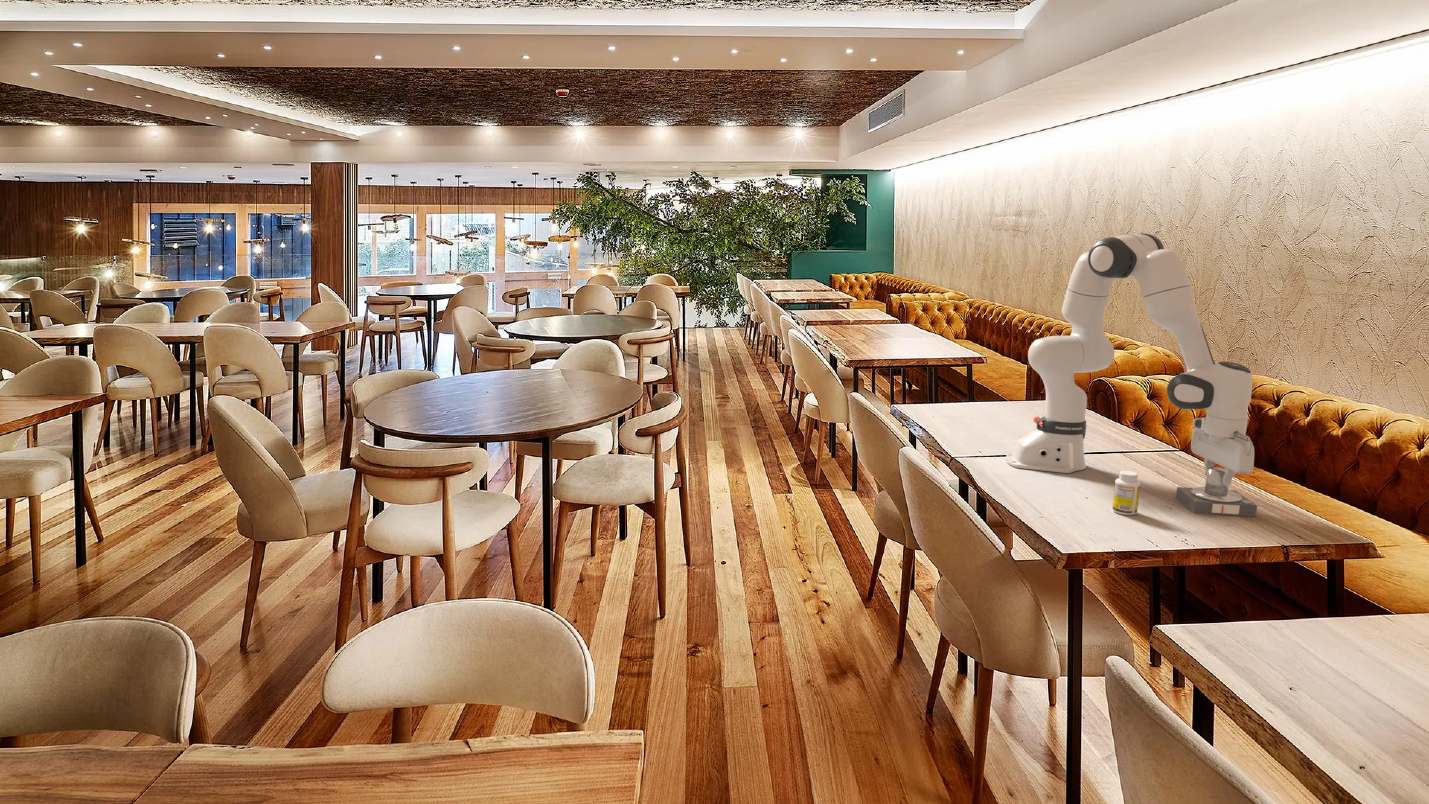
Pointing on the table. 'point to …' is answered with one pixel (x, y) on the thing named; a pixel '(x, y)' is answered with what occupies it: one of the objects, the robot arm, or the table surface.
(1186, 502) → the scale base
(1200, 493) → the scale pan
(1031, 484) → the table surface
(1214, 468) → the cylinder
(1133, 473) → the supplement bottle
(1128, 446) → the table surface
